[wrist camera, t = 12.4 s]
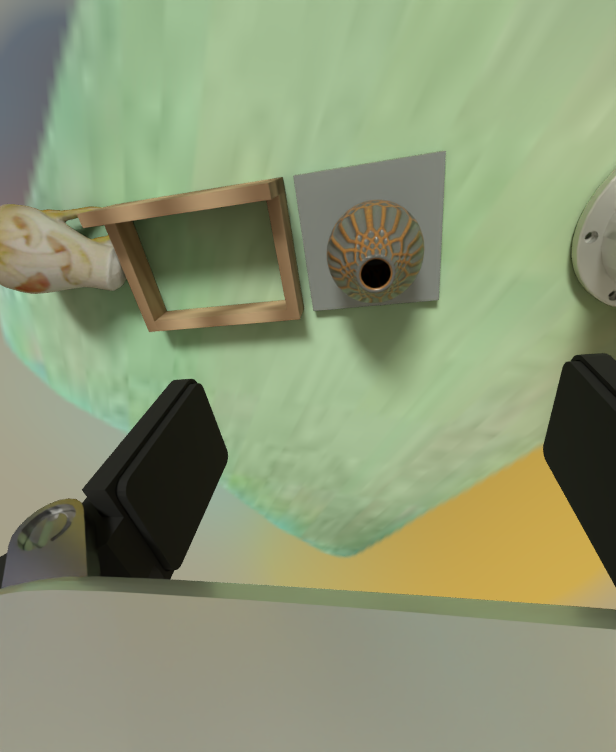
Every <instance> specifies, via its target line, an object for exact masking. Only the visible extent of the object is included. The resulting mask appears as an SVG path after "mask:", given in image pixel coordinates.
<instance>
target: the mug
mask: <svg viewBox="0 0 616 752" xmlns="http://www.w3.org/2000/svg"><path fill="white" fill-rule="evenodd" d="M99 208H101V207H85V208H79V209H72V210H64V211H60V210H38V209H35V208H32V207H29V206H23V205H15V204H6V205H3V206H1V207H0V284H1V285H2V286H4V287H7V288H9V289H13V290H16V291H20V292H25V293H31V294H39V293H49V292H56V291H62V290H68V289H73V288H80V287H93V288H99V289H105V290H110V291H114V290H116V289H118V288H120V287H121V286H122V285H123V284H124V283H125V281H126V276H125V273H124V271H123V268H122V266H121V264H120V261H119V259H118V257H117V254H116V252H115V249H114V247H113V245H112V242H111V240H110V238H109V235H108V236H105V237H98V238H95V239H89V238H87V237H85V236H83V235H82V234H80V233H79V232H77V231H76V230H74V229H72V228H71V227H70V226H68V225H67V224H66V223H65V222H66V221H67V220H71V219H75V218H78V216H77V214H79V213H83V212H87V211H91V210H95V209H99Z"/></svg>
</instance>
